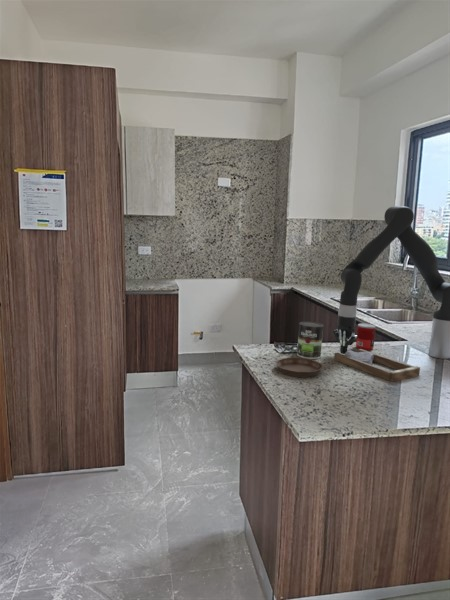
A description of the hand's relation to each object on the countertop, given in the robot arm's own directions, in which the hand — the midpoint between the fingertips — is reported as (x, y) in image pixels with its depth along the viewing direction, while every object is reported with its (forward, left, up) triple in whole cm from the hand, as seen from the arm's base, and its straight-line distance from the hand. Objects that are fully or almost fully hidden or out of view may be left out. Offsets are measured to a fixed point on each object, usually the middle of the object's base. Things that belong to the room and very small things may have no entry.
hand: (343, 353), depth 199 cm
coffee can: (+14, -6, -1) cm, 16 cm away
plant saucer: (+32, +8, -2) cm, 33 cm away
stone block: (0, +9, -2) cm, 9 cm away
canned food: (-20, -5, -1) cm, 21 cm away
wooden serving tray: (0, +17, -1) cm, 17 cm away
